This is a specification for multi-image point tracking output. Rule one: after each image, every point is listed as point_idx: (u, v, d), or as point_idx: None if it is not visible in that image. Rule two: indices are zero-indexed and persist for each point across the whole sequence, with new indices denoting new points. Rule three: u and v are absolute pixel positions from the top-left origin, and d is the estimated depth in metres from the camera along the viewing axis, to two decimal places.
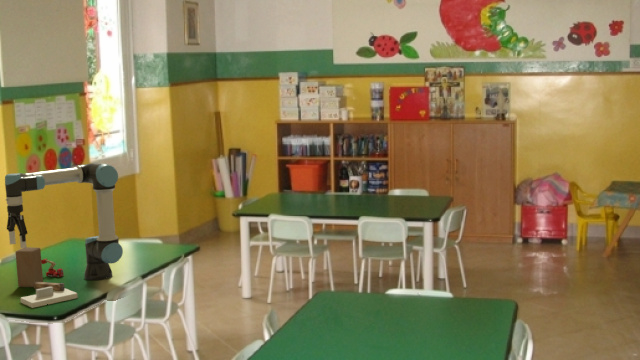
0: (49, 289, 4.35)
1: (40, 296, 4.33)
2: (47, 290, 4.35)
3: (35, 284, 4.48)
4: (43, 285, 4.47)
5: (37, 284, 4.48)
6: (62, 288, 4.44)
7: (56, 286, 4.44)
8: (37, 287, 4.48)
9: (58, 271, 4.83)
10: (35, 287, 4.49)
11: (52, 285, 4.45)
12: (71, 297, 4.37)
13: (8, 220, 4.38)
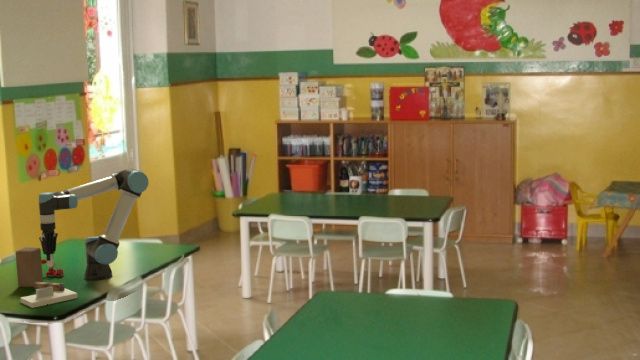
0: (49, 289, 4.35)
1: (40, 296, 4.33)
2: (47, 290, 4.35)
3: (35, 284, 4.48)
4: (43, 285, 4.47)
5: (37, 284, 4.48)
6: (62, 288, 4.44)
7: (56, 286, 4.44)
8: (37, 287, 4.48)
9: (58, 271, 4.83)
10: (35, 287, 4.49)
11: (52, 285, 4.45)
12: (71, 297, 4.37)
13: None
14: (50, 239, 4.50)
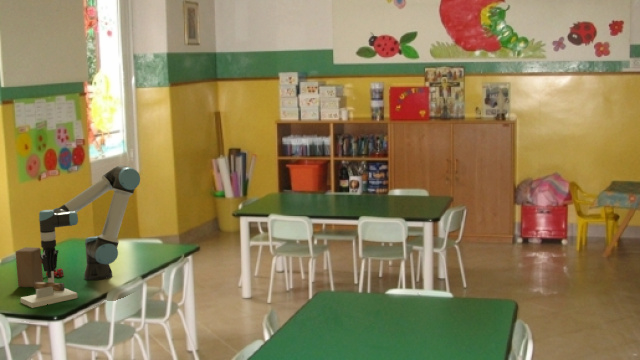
0: (49, 289, 4.35)
1: (40, 296, 4.33)
2: (47, 290, 4.35)
3: (35, 284, 4.48)
4: (43, 285, 4.47)
5: (37, 284, 4.48)
6: (62, 288, 4.44)
7: (56, 286, 4.44)
8: (37, 287, 4.48)
9: (58, 271, 4.83)
10: (35, 287, 4.49)
11: (52, 285, 4.45)
12: (71, 297, 4.37)
13: None
14: (51, 256, 4.51)
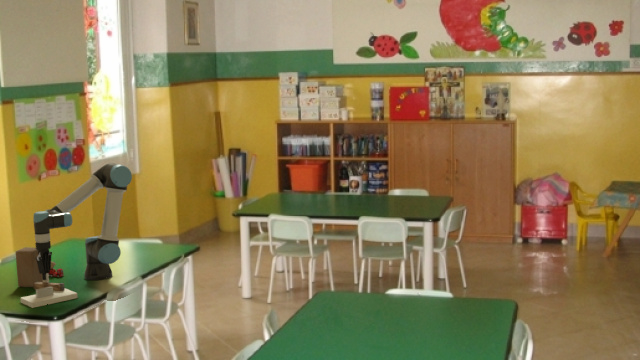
0: (49, 289, 4.35)
1: (40, 296, 4.33)
2: (47, 290, 4.35)
3: (35, 284, 4.48)
4: (43, 285, 4.47)
5: (37, 284, 4.48)
6: (62, 288, 4.44)
7: (56, 286, 4.44)
8: (37, 287, 4.48)
9: (58, 271, 4.83)
10: (35, 287, 4.48)
11: (52, 285, 4.45)
12: (71, 297, 4.37)
13: None
14: (46, 258, 4.47)
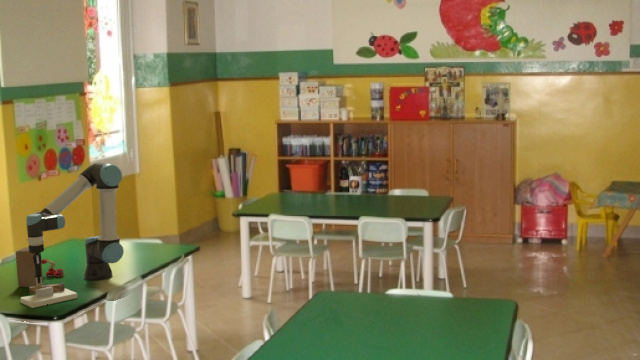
0: (49, 289, 4.35)
1: (40, 296, 4.33)
2: (47, 290, 4.35)
3: (31, 289, 4.39)
4: None
5: (33, 288, 4.40)
6: (63, 288, 4.45)
7: (57, 287, 4.43)
8: (33, 291, 4.40)
9: (58, 271, 4.83)
10: (31, 292, 4.40)
11: None
12: (71, 297, 4.37)
13: None
14: None
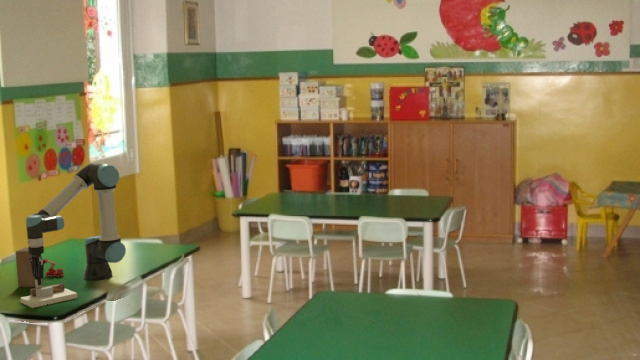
0: (49, 289, 4.35)
1: (40, 296, 4.33)
2: (47, 290, 4.35)
3: (33, 291, 4.35)
4: None
5: None
6: (64, 288, 4.45)
7: (58, 287, 4.42)
8: None
9: (58, 271, 4.83)
10: (33, 294, 4.35)
11: (54, 287, 4.41)
12: (71, 297, 4.37)
13: (31, 265, 4.40)
14: None
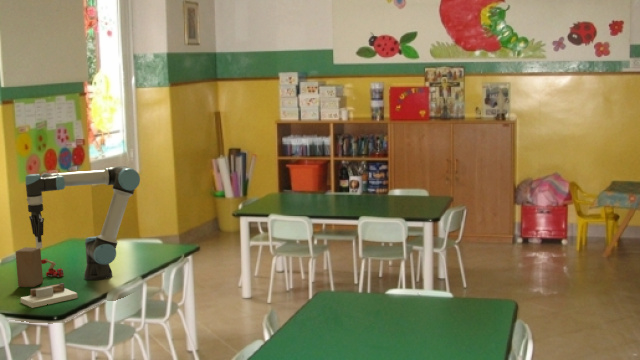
0: (49, 289, 4.35)
1: (40, 296, 4.33)
2: (47, 290, 4.35)
3: (33, 291, 4.35)
4: None
5: None
6: (64, 288, 4.45)
7: (58, 287, 4.42)
8: None
9: (58, 271, 4.83)
10: (33, 294, 4.35)
11: (54, 287, 4.41)
12: (71, 297, 4.37)
13: (31, 223, 4.51)
14: None
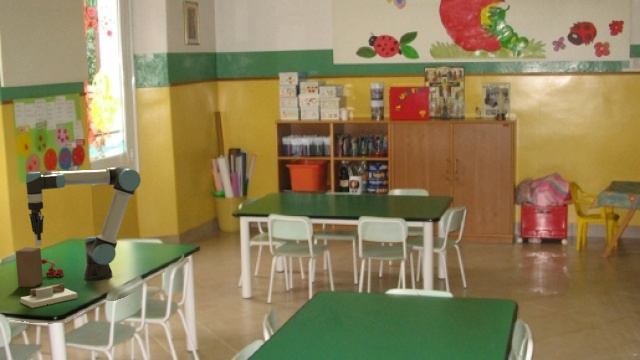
0: (49, 289, 4.35)
1: (40, 296, 4.33)
2: (47, 290, 4.35)
3: (33, 291, 4.35)
4: None
5: None
6: (64, 288, 4.45)
7: (58, 287, 4.42)
8: None
9: (58, 271, 4.83)
10: (33, 294, 4.35)
11: (54, 287, 4.41)
12: (71, 297, 4.37)
13: (31, 220, 4.52)
14: None
